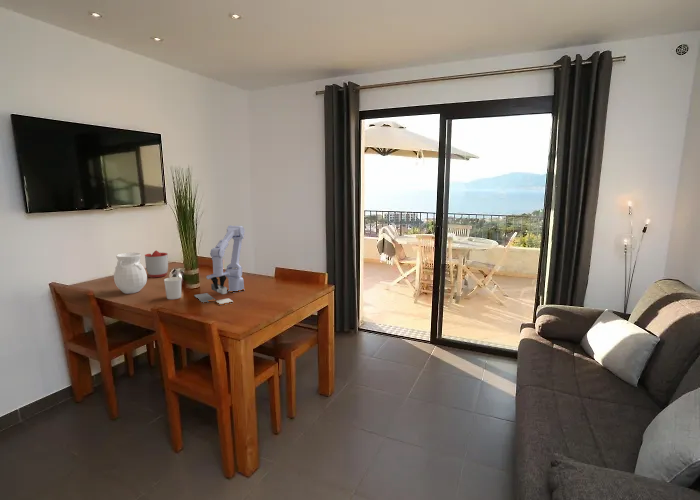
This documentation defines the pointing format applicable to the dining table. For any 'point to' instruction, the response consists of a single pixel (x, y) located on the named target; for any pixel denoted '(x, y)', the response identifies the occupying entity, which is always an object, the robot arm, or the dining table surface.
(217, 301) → the tile
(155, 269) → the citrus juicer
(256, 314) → the dining table surface
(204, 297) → the mat
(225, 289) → the two-tone grey bar
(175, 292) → the candle holder
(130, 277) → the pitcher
